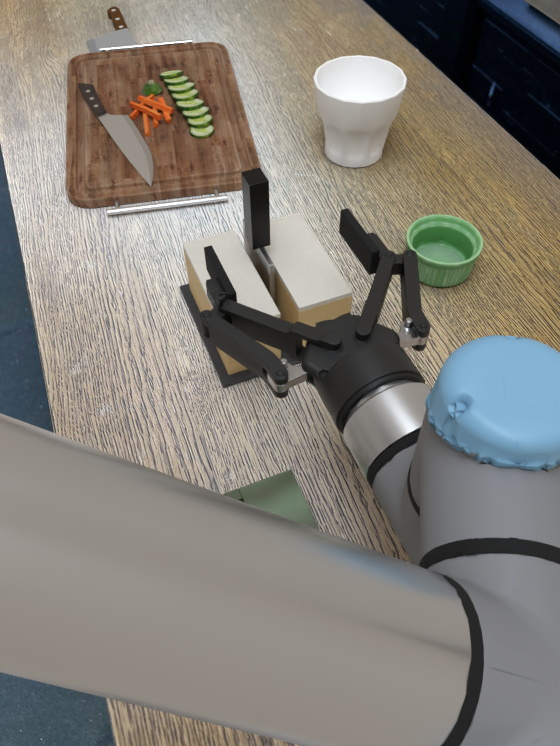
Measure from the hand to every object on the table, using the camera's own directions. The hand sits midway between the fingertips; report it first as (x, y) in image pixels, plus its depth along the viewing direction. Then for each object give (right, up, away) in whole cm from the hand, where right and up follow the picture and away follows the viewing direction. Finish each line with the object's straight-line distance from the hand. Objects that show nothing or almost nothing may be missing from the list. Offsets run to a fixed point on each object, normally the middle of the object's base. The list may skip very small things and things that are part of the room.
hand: (277, 238), depth 61 cm
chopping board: (-19, +27, +39) cm, 51 cm away
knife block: (-2, -31, -5) cm, 31 cm away
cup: (+11, +20, +34) cm, 41 cm away
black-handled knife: (-2, -4, +15) cm, 15 cm away
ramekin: (+20, 0, +19) cm, 27 cm away
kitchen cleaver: (-29, +46, +55) cm, 78 cm away
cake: (-1, -6, +14) cm, 15 cm away
